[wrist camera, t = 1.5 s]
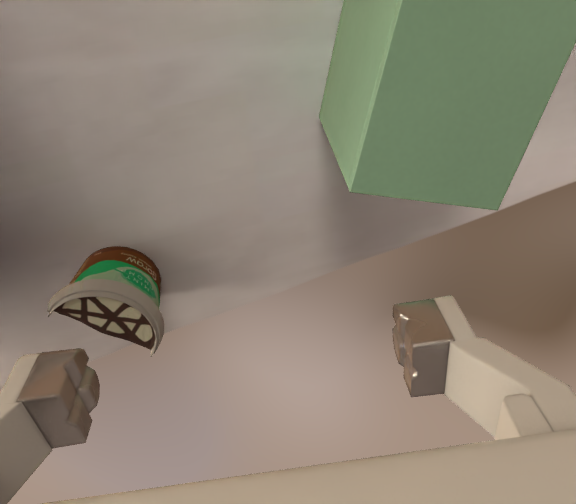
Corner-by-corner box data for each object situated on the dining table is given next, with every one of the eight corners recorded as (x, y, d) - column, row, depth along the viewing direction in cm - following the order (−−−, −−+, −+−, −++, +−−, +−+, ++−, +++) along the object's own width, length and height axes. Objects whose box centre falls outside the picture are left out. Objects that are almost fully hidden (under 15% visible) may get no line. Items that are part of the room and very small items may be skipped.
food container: (190, 266, 59) (183, 322, 51) (166, 300, 62) (155, 359, 53) (92, 219, 54) (66, 272, 46) (71, 257, 57) (42, 314, 49)
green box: (354, -53, 42) (412, -42, 28) (495, -24, 44) (615, 1, 30) (318, 117, 50) (349, 192, 36) (439, 135, 52) (513, 212, 38)
